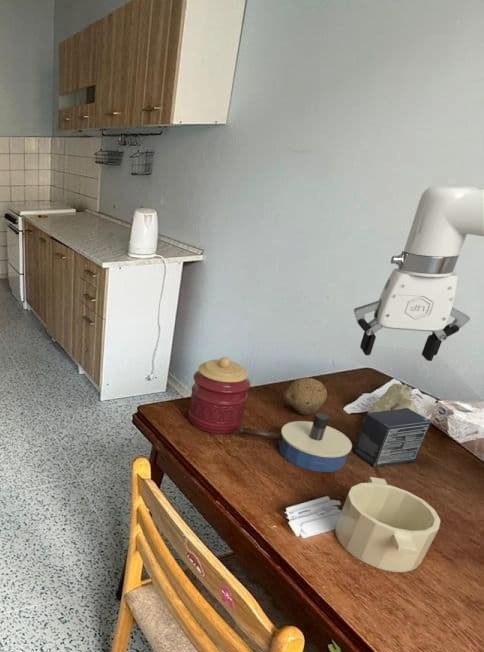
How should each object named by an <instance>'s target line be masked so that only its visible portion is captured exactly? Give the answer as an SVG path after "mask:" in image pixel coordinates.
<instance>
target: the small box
mask: <svg viewBox="0 0 484 652" xmlns="http://www.w3.org/2000/svg"><path fill="white" fill-rule="evenodd" d="M364 419H365V420H364ZM364 419H363V423H362V426H361V429H360V431H359V435H358V437H357V440H356V443H355V445H354V448H353V452H352V453H355V454H356V455H357V456H358V457H360V458H361V459H362V460H364V461H365V462H366V463H368V464H369V465H370V466H372V467H373V468H378V467H384V466H394V465H401V464H405V463H406V464H407V463H413V462H414V463H415V462H416V460H417V458H418V455H419V453H420V450H421V448H422V446H423V444H424V441H425V438H426V436H427V434H428V431H429V429H430V427H431V424H432V422H433V421H432V420H431V419H430V418H427V417H425V416H424V415H423V414H422V415H421V414H419V412H418V413H416V412H414V411H412V410H411V409H409V408H403V409H396V410H388V411H379V412H371V413H368V412H366V414H365V417H364Z"/></svg>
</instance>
